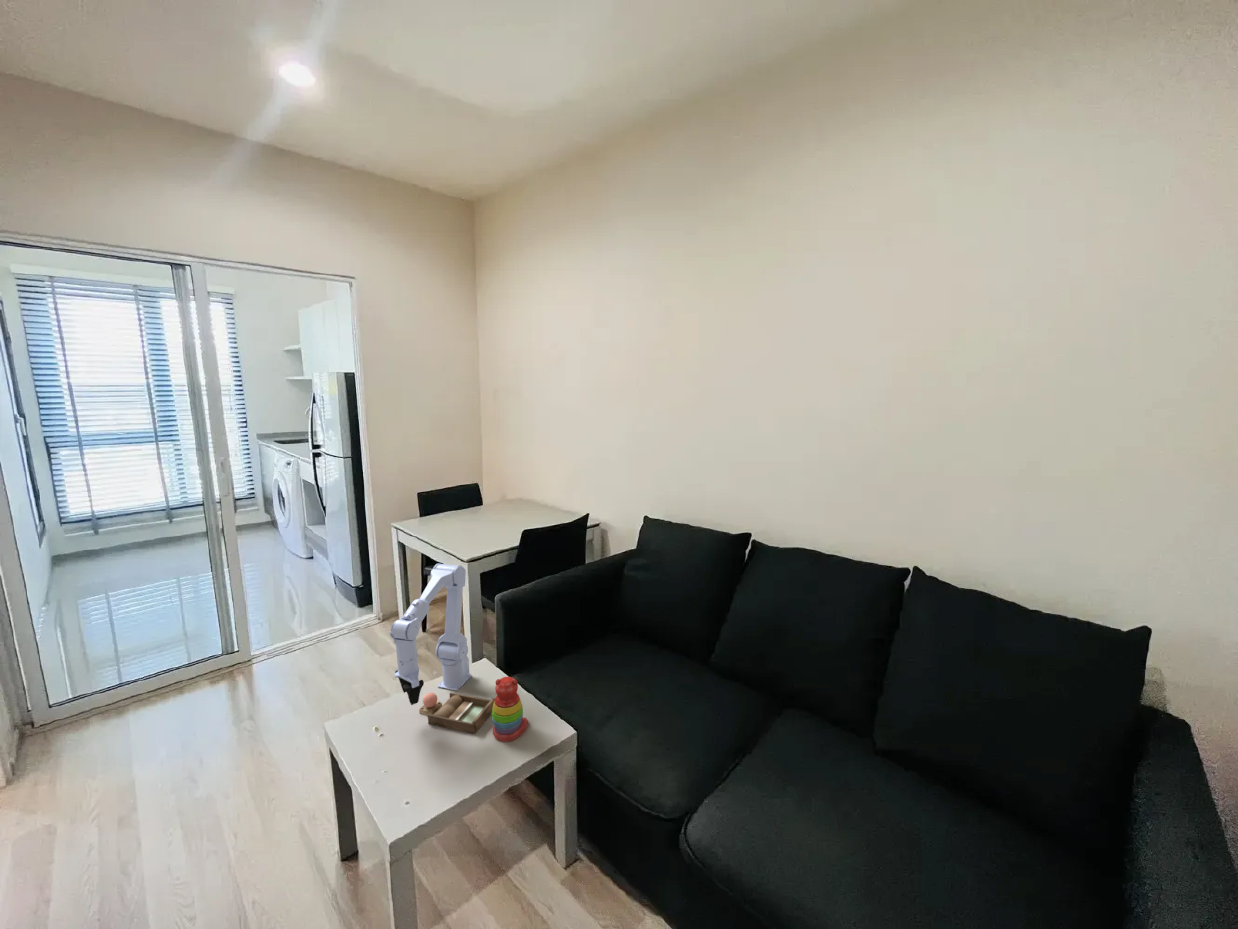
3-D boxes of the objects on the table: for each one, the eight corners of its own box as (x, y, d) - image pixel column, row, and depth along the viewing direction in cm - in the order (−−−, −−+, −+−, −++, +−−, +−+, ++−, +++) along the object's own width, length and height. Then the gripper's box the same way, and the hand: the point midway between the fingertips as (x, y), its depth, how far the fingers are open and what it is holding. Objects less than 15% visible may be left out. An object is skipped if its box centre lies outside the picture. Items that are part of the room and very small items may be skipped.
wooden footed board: (429, 703, 165) (428, 699, 165) (442, 706, 164) (441, 701, 163) (419, 713, 160) (419, 708, 160) (432, 716, 159) (432, 711, 159)
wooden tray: (451, 708, 167) (450, 689, 166) (495, 717, 163) (494, 698, 162) (429, 732, 156) (427, 712, 155) (475, 742, 151) (474, 722, 150)
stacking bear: (530, 721, 157) (528, 669, 154) (520, 744, 147) (518, 689, 144) (497, 718, 158) (494, 667, 155) (485, 741, 148) (482, 687, 145)
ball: (429, 700, 164) (428, 688, 164) (440, 703, 163) (439, 691, 163) (420, 709, 160) (419, 696, 160) (432, 711, 159) (431, 699, 158)
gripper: (387, 651, 154) (390, 690, 157) (400, 672, 143) (403, 714, 145) (410, 644, 159) (413, 682, 161) (424, 663, 147) (428, 704, 150)
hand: (410, 697), depth 153 cm, fingers open, 7 cm apart
